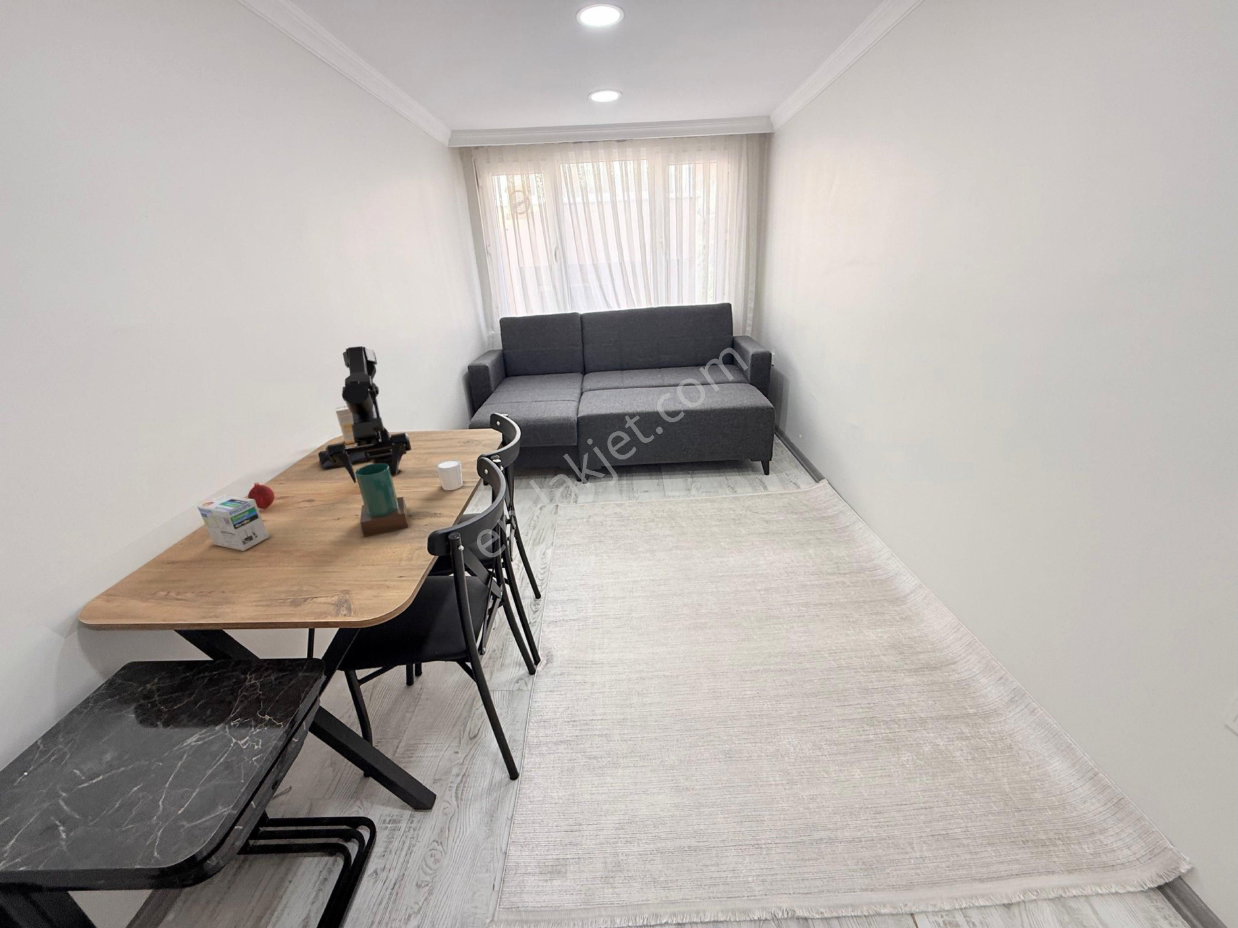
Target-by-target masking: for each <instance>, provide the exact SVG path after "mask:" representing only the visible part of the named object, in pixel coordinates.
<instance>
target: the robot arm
mask: <svg viewBox="0 0 1238 928" xmlns="http://www.w3.org/2000/svg"><path fill="white" fill-rule="evenodd" d="M342 356H343V361H344V367H346V368H347V369H348V370H349V375H347V377H346V378H345V379H344V386H342V391H341V397H342V399H343V402H345V404H346V406H348V408H349V410H350V412H351V413H352V418H353V425H351V427H352V431H353V437H354V442H355V443H354V444H356V445H353V446H346V444H345V443H344V442H337V443H332V444H328V445H327V446H326V447H325V451H326V454H327V456H328V458H329V459H330V461H331V462H332V463H334V464H336V463H337V464H338V465H343V466H342V467H343V468H345V469H346V471H347V472H348V474H349V476H350V478H351V480H352V482H353V483H354V484H356V483H357V478H356V474H355V471H354V467H353V463H351V461H350V459H349V455H351V454H357V453H363V452H364V454H365V457H366V461H367V462H369V461H371V462H372V464H376V463H385V464H388V466H389V468H390V472H391V476H392V477H393V476H397V475H398V474H401V472H402V470H401V469H399V468H400V467H399V466H400V462H401V460H402V458H403V455H407V453H408V452H409V451H411V450H412V445H411V441H410V437H409V434H408V433H406V432H401V433H395V434H390V432H389V431H388V429H387V428H386V427H385V426H384V423H383V419H382V416H381V414H380V408H379V405H378V400H377V397H378V396H379V394H380V389H379V386H378V385H377V384H376V382H374V378H375V376H376V374H377V367H376V366H377V365H378V360H377V355H376V353H375V350H374V349H371V348H366V346H363V345H360V346H350V347H347V348H345V351H344V352H342Z"/></svg>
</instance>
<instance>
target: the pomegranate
mask: <svg viewBox="0 0 1238 928" xmlns="http://www.w3.org/2000/svg"><path fill="white" fill-rule="evenodd" d="M247 498H249V499H255V502H256V504H257V507H258V509H262V510H266V509H268V508H269V507H270V506H271V505H272V504H273V503H274V500H275V492H274V491H273V489H272V488H270V487H269V486H267V485H265V484H260V483H259V482H258V481H254V484H253V487H252V488H250V490H249V492H248V494H247Z"/></svg>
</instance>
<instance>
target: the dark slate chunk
mask: <svg viewBox="0 0 1238 928" xmlns="http://www.w3.org/2000/svg"><path fill="white" fill-rule="evenodd" d="M317 454H318V458H319V463H320V468H321V469H327V470H328V469H330V468H334V467H338V468H339V467H344V466H343V465H338V464H337V463H336V464H334V463H332V462H331V461H330V459H329V458H328V456H327V454H326V450H320V451H319V452H318V453H317ZM349 459H350V461H351V463H352V464H357V463H362V462H366V461H367V460H366V457H365V454H364V452H363V453H357V454H351V455H349Z"/></svg>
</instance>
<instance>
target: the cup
mask: <svg viewBox="0 0 1238 928" xmlns="http://www.w3.org/2000/svg"><path fill="white" fill-rule="evenodd" d="M354 474H355V477H356V482H357V485H358V488H359V491H360V495H361V499H362V502H363V505H364V506H365V510H366V513H367V514H368V515H369V516H383V515H386V514H389V513H392V512H393V511H395V510H396V509H397V508H398V501H397V498H398V497H397V493H396V489H395V485H394V480H393V478H392V477H393V476H391V472H390V468H389V466H388V464H385V463H376V464H373V463H370V464H366V465H364V466H361V467H359V468H357V469H356V470H355V471H354Z"/></svg>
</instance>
